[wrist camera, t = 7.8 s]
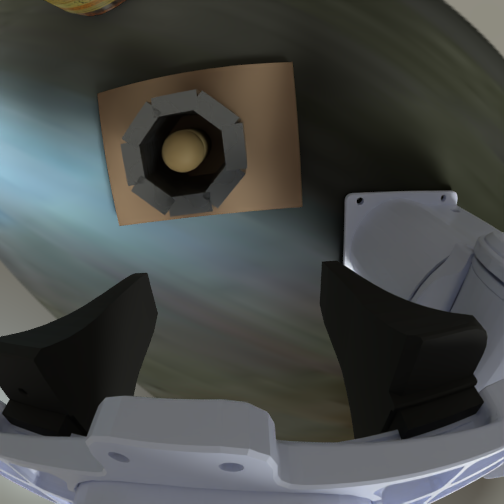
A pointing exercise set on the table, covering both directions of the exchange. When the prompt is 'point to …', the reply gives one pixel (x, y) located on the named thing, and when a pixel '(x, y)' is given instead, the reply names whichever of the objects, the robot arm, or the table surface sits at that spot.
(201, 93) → the octagonal steel tube
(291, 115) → the brown peg board
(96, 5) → the sauce bottle
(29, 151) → the table surface
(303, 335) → the table surface
